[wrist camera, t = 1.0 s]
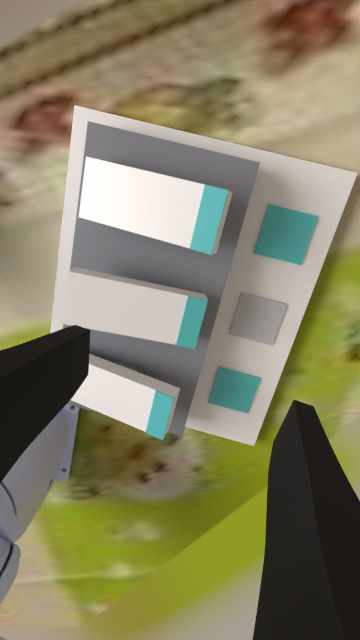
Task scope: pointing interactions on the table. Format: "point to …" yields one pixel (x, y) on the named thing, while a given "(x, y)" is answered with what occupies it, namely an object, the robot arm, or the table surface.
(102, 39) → the table surface
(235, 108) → the table surface
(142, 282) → the middle switch
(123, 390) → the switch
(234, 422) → the switch board
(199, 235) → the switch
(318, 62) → the table surface
